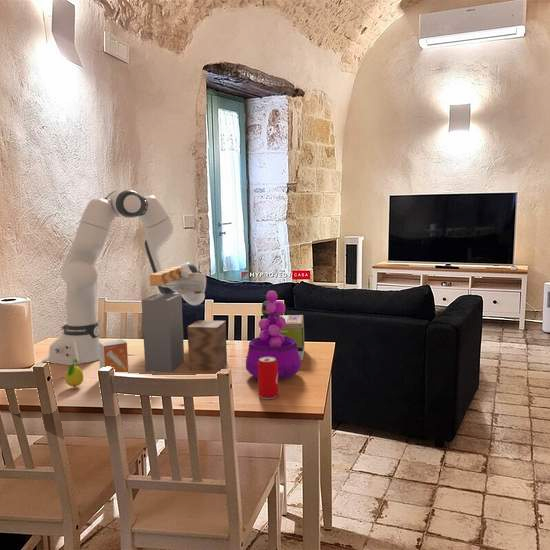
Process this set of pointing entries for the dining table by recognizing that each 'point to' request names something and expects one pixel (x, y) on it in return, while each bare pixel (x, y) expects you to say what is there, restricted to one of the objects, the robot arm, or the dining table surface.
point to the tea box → (294, 331)
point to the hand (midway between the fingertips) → (174, 272)
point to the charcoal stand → (163, 332)
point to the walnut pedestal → (207, 345)
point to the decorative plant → (273, 342)
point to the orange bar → (165, 276)
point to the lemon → (74, 375)
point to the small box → (114, 355)
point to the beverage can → (268, 377)
